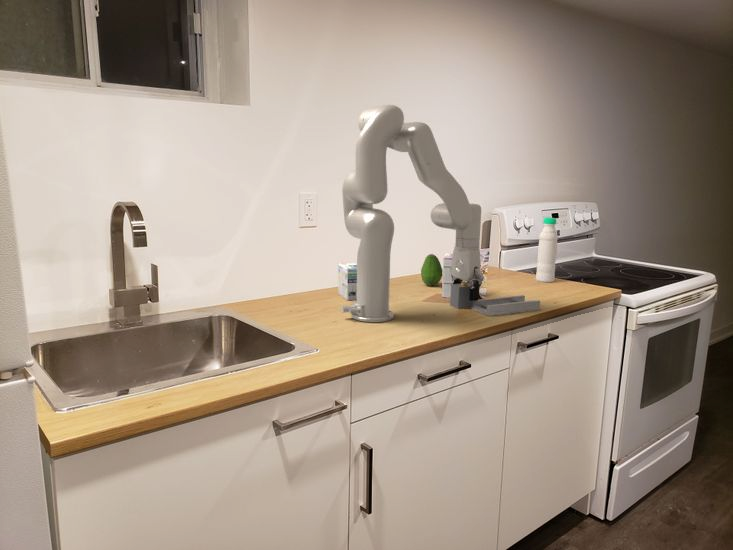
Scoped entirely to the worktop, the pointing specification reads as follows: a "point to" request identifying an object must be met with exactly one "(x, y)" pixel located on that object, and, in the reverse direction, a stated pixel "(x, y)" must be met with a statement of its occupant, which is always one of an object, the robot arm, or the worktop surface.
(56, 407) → the worktop surface
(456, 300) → the block
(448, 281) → the syrup box
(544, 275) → the milk bottle
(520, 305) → the rail
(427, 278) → the avocado
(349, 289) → the light bulb box
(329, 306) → the worktop surface
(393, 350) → the worktop surface
